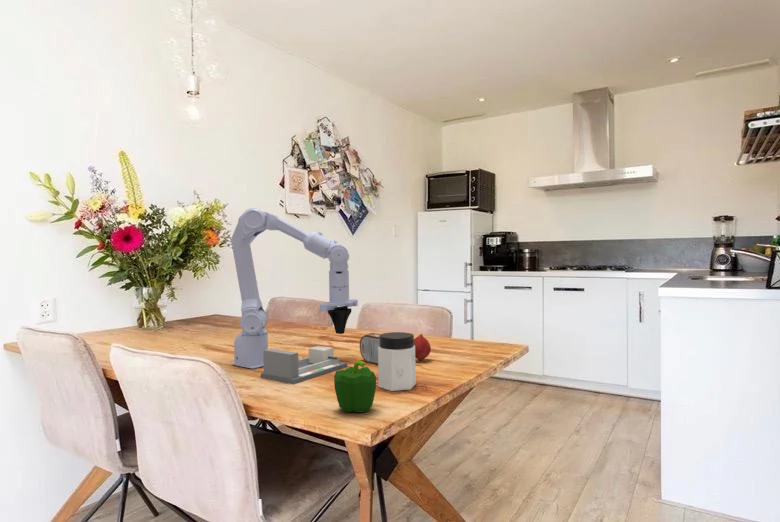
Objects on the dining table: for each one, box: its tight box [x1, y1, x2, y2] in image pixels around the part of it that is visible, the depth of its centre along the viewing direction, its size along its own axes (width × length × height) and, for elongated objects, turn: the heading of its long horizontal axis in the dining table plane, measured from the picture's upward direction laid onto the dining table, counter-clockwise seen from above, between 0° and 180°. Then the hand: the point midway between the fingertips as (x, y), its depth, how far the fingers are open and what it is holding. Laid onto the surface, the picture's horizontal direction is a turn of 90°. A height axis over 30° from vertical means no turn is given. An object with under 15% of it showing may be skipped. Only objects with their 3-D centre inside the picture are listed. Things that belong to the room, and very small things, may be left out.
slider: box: [308, 345, 338, 364], centre depth 127 cm, size 9×4×4 cm, turn 55°
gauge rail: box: [260, 348, 348, 385], centre depth 123 cm, size 12×20×7 cm, turn 145°
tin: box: [359, 332, 382, 366], centre depth 130 cm, size 15×3×8 cm, turn 45°
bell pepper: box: [333, 360, 377, 413], centre depth 93 cm, size 8×8×10 cm
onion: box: [414, 333, 432, 362], centre depth 133 cm, size 6×6×8 cm
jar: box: [377, 331, 417, 392], centre depth 109 cm, size 9×8×12 cm
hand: (340, 333), depth 134 cm, fingers closed
